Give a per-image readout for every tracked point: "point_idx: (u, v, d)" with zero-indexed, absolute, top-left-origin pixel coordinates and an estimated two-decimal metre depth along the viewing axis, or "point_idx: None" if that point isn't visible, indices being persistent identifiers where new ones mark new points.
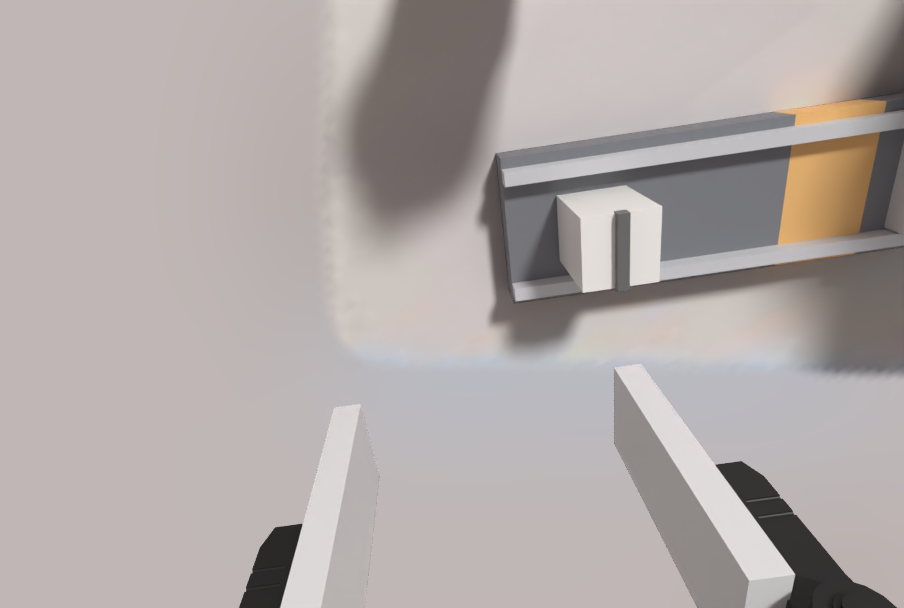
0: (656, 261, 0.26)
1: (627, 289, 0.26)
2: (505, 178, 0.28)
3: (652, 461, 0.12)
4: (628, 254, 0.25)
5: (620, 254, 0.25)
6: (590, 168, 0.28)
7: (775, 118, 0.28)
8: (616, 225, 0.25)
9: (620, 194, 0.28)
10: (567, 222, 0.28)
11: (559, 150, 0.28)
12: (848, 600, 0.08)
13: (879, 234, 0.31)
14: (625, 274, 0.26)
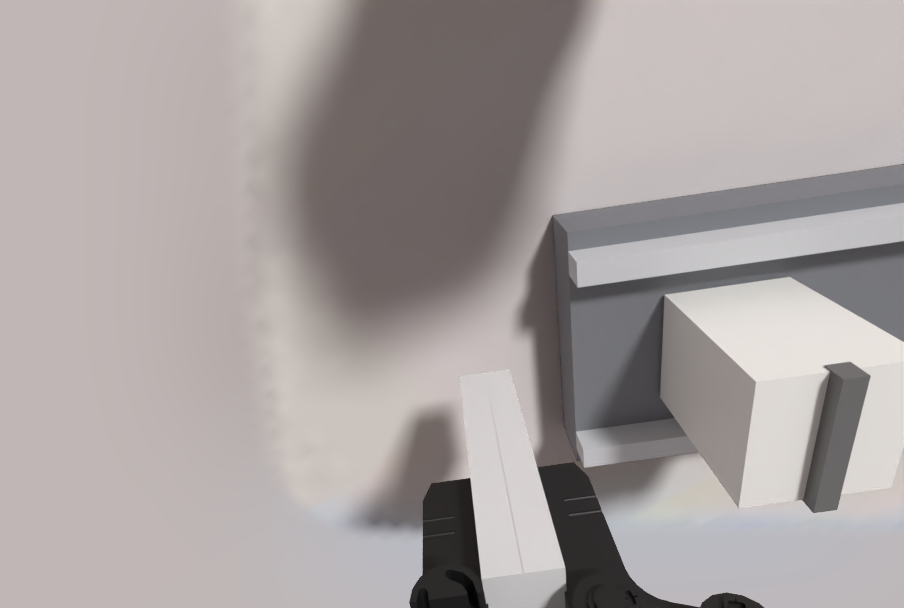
0: (894, 454, 0.13)
1: (833, 508, 0.13)
2: (579, 272, 0.15)
3: None
4: (849, 451, 0.12)
5: (832, 450, 0.12)
6: (739, 252, 0.15)
7: None
8: (833, 396, 0.12)
9: (798, 304, 0.15)
10: (697, 357, 0.15)
11: (676, 217, 0.15)
12: (598, 594, 0.08)
13: None
14: (834, 483, 0.13)
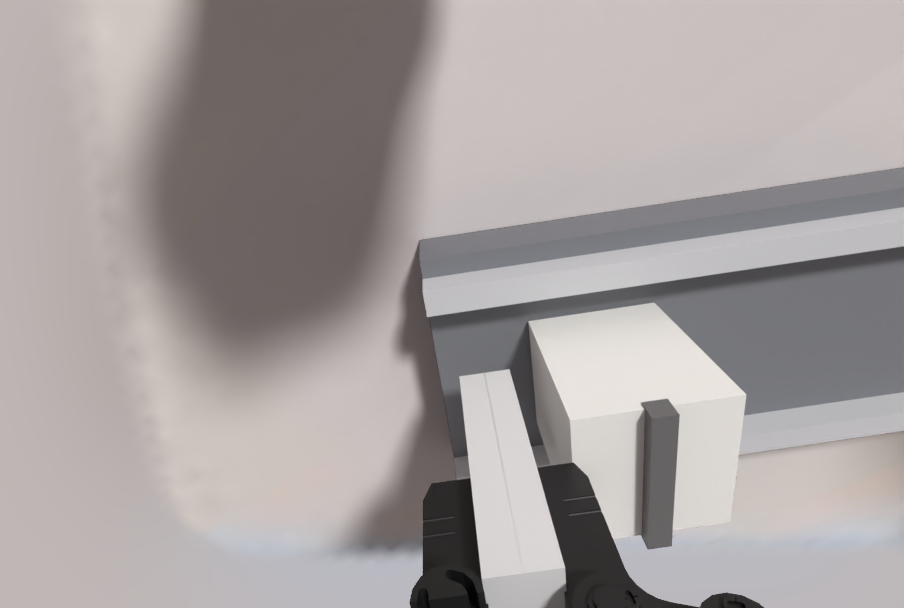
0: (726, 489, 0.13)
1: (667, 544, 0.13)
2: (426, 301, 0.15)
3: None
4: (673, 488, 0.12)
5: (655, 488, 0.12)
6: (588, 281, 0.15)
7: None
8: (648, 434, 0.11)
9: (648, 333, 0.14)
10: (546, 388, 0.14)
11: (530, 244, 0.15)
12: (598, 593, 0.08)
13: None
14: (664, 520, 0.12)
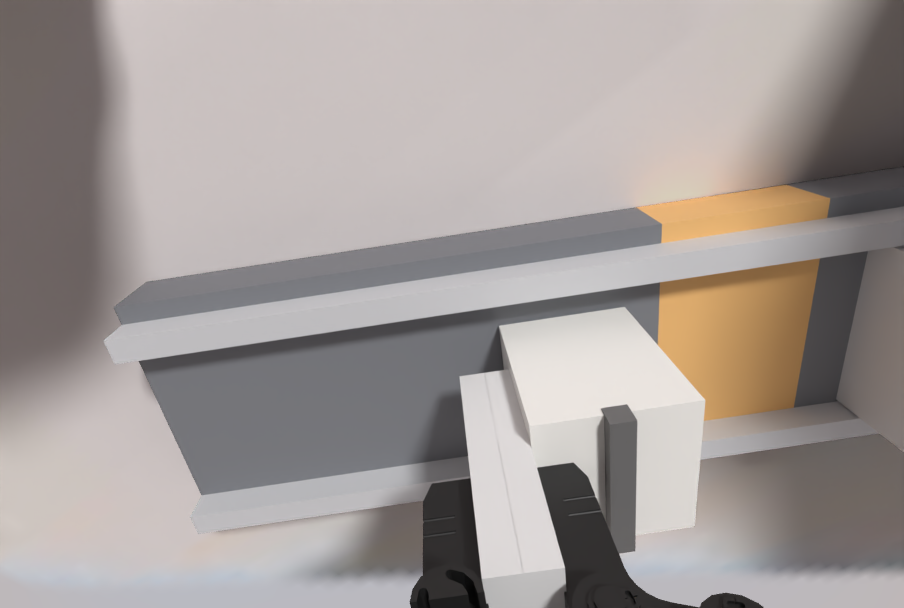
0: (689, 494, 0.13)
1: (630, 549, 0.13)
2: (109, 350, 0.15)
3: None
4: (633, 493, 0.12)
5: (615, 493, 0.12)
6: (271, 329, 0.15)
7: (624, 230, 0.15)
8: (607, 440, 0.11)
9: (615, 338, 0.14)
10: None
11: (224, 291, 0.15)
12: (598, 594, 0.08)
13: (827, 416, 0.17)
14: (626, 526, 0.12)
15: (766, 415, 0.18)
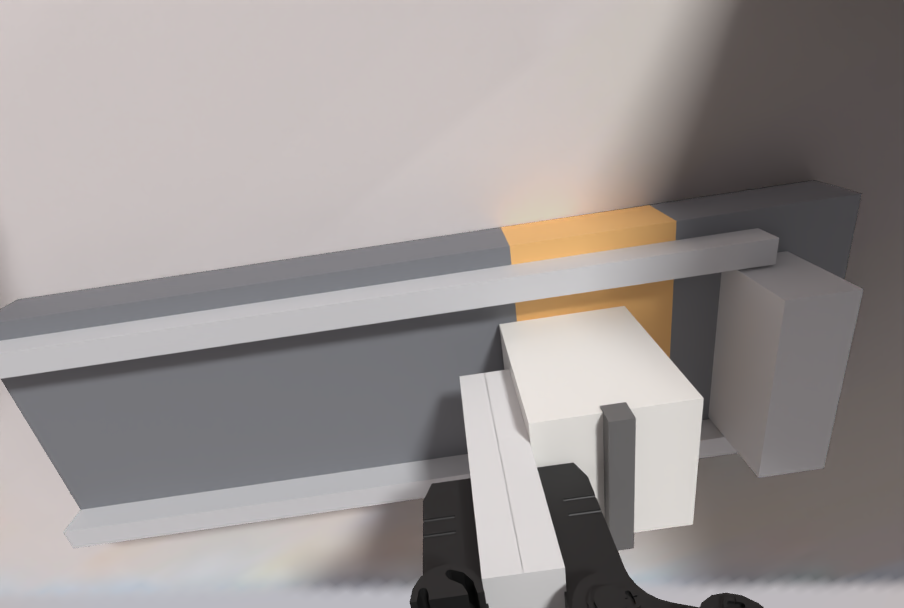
0: (688, 492, 0.13)
1: (629, 546, 0.13)
2: None
3: None
4: (632, 490, 0.12)
5: (614, 490, 0.12)
6: (119, 349, 0.15)
7: (472, 252, 0.15)
8: (606, 438, 0.12)
9: (614, 336, 0.14)
10: None
11: (78, 311, 0.15)
12: (598, 594, 0.08)
13: None
14: (625, 523, 0.12)
15: None
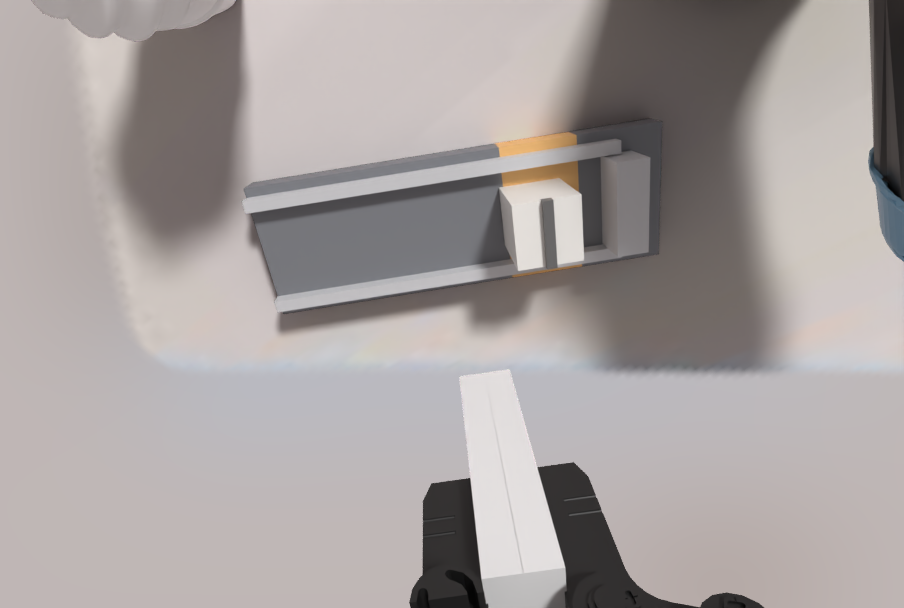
0: (580, 242, 0.30)
1: (555, 267, 0.30)
2: (243, 206, 0.32)
3: None
4: (554, 236, 0.29)
5: (547, 236, 0.29)
6: (317, 196, 0.32)
7: (481, 151, 0.32)
8: (542, 211, 0.29)
9: (551, 185, 0.32)
10: (506, 210, 0.32)
11: (295, 180, 0.32)
12: (599, 594, 0.08)
13: (594, 249, 0.35)
14: (553, 253, 0.30)
15: None
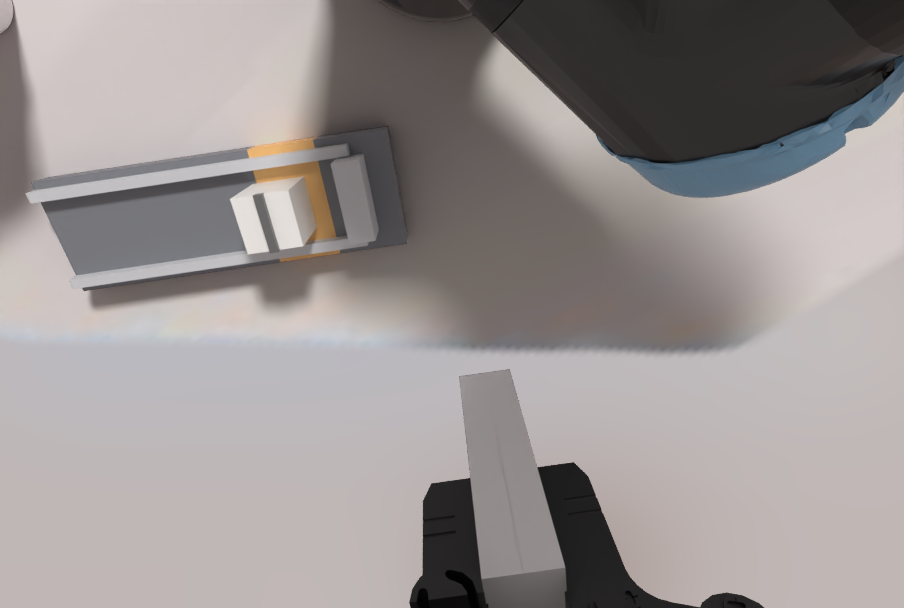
0: (296, 230, 0.35)
1: (276, 251, 0.36)
2: (28, 197, 0.38)
3: None
4: (269, 225, 0.35)
5: (263, 225, 0.35)
6: (90, 189, 0.38)
7: (232, 152, 0.38)
8: (255, 204, 0.34)
9: (286, 182, 0.37)
10: None
11: (74, 176, 0.38)
12: (599, 594, 0.08)
13: (343, 238, 0.40)
14: (271, 240, 0.35)
15: (322, 239, 0.41)
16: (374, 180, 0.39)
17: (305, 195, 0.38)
